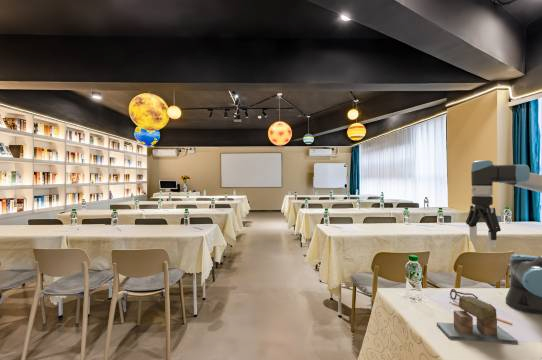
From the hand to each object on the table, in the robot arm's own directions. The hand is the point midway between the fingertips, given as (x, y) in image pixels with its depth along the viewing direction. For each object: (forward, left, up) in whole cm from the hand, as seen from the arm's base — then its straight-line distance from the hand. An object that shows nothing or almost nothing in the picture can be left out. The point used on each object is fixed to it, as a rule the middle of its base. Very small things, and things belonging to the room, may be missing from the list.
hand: (482, 244), depth 125 cm
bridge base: (+15, +22, -29) cm, 39 cm away
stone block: (+14, +22, -22) cm, 34 cm away
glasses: (0, -7, -29) cm, 30 cm away
